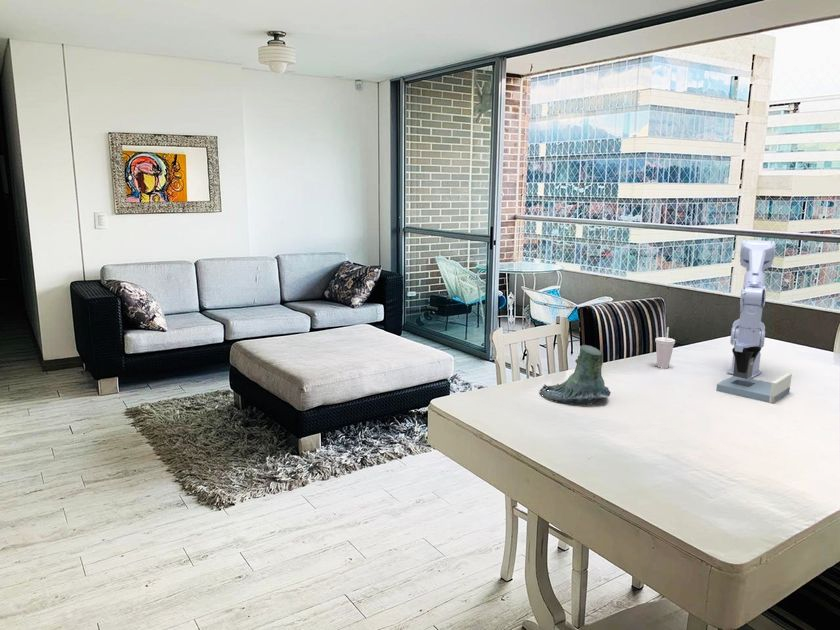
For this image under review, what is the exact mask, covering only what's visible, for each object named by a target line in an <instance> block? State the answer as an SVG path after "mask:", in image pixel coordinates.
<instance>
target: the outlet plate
mask: <svg viewBox="0 0 840 630" xmlns="http://www.w3.org/2000/svg"><path fill="white" fill-rule="evenodd" d="M791 382H792V373H789V372H787V373H785V374H784V375H781V376H780V377H778V378H777V379H775V380H773V381H771V382H769V381H765V380H759V379H755V378H748V379H745V378H740V377H735V376H733V375H732V376H730V377H728V378H726V379H724V380H722V381H721V382H718V383H717V384H716V390H715V391H717V392H721V393H725V394H728V395H729V394H730V395H735V396H738V397H743V398H748V399H752V400H756V401H760V402H766V403H770V404H775V403H776V402H778V401H779V400H781V399H783V398H784V397H786V396H787V395H789V394H790V390H791Z"/></svg>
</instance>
